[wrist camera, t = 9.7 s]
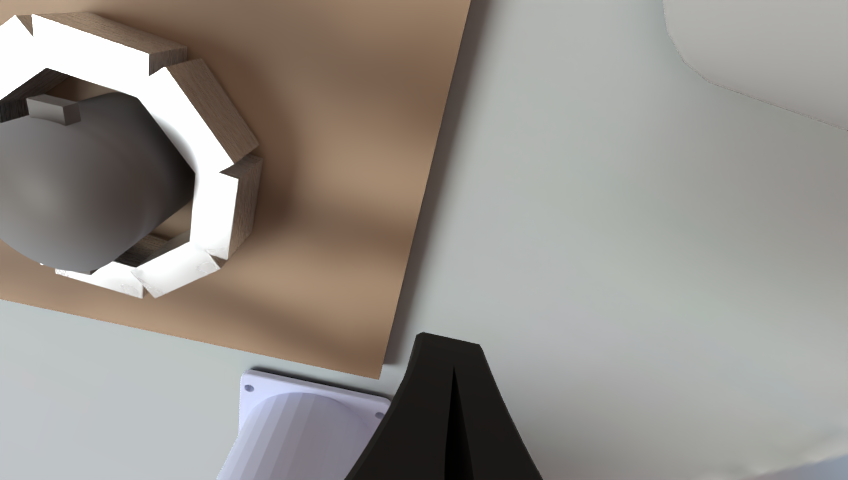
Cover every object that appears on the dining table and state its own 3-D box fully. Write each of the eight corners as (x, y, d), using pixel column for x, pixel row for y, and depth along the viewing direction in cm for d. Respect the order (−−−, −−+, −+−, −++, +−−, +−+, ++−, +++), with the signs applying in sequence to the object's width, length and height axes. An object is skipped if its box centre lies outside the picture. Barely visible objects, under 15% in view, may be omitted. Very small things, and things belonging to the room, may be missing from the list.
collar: (276, 77, 15) (238, 94, 13) (242, 289, 20) (209, 334, 17) (-237, -102, 14) (-399, -124, 11) (-151, 171, 18) (-252, 200, 16)
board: (381, 365, 23) (361, 462, 18) (-59, 270, 22) (-202, 347, 17) (479, -38, 14) (489, -54, 10) (-235, -224, 13) (-622, -346, 9)
